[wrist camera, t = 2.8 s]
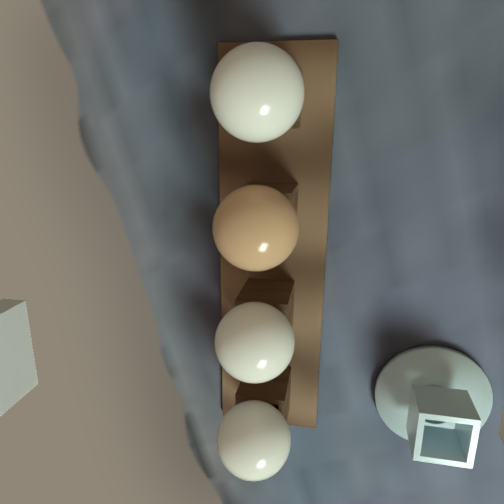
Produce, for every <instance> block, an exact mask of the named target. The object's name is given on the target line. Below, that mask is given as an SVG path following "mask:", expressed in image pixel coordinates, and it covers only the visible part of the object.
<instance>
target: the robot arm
mask: <svg viewBox="0 0 504 504" xmlns="http://www.w3.org/2000/svg"><path fill="white" fill-rule="evenodd" d="M37 384H38V379H37V373H36V367H35V360H34V353H33V347H32V341H31V335H30V328H29V321H28V314H27V309H26V302H25V300H11V299H1V300H0V416H2V415H3V414H4V413H5V412H6V411H7V410H9V409H10V408H11V407H12V406H13V405H14V404H16V403H17V402H18V401H19V400H20V399H21V398H22V397H24V396H25V395H26V394H27V393H28V392H29V391H31V390H32V389H33V388H34V387H35V386H36V385H37ZM499 435H500V437H501V439H502V440H503V442H504V407H503V413H502V418H501V424H500V429H499Z"/></svg>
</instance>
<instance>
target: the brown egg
mask: <svg viewBox="0 0 504 504" xmlns="http://www.w3.org/2000/svg"><path fill="white" fill-rule="evenodd" d="M212 231H213V237H214V241H215V244H216V247H217V249H218V250H219V252H220V253H221V255H222V256H223V257H224V258H225V259H226V260H227V261H228V262H229V263H231V264H232V265H234V266H236V267H237V268H240V269H243V270H246V271H265V270H269V269H272V268H274V267H276V266H278V265H279V264H281V263H282V262H284V261H285V260H286V259H287V258H288V257H289V255H290V254H291V253H292V251H293V249H294V248H295V246H296V243H297V240H298V236H299V220H298V216H297V213H296V210H295V208H294V206H293V205H292V203H291V202H290V201H289V199H288V198H287V197H286V196H285V195H283V194H282V193H281V192H279V191H278V190H276V189H274V188H271V187H269V186H265V185H258V184H256V185H247V186H243V187H240V188H238V189H236V190H234V191H232V192H231V193H229V194H228V195H227V196H226V197H225V198H224V199H223V200H222V201H221V203H220V204H219V206H218V208H217V210H216V212H215V215H214V218H213V224H212Z"/></svg>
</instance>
